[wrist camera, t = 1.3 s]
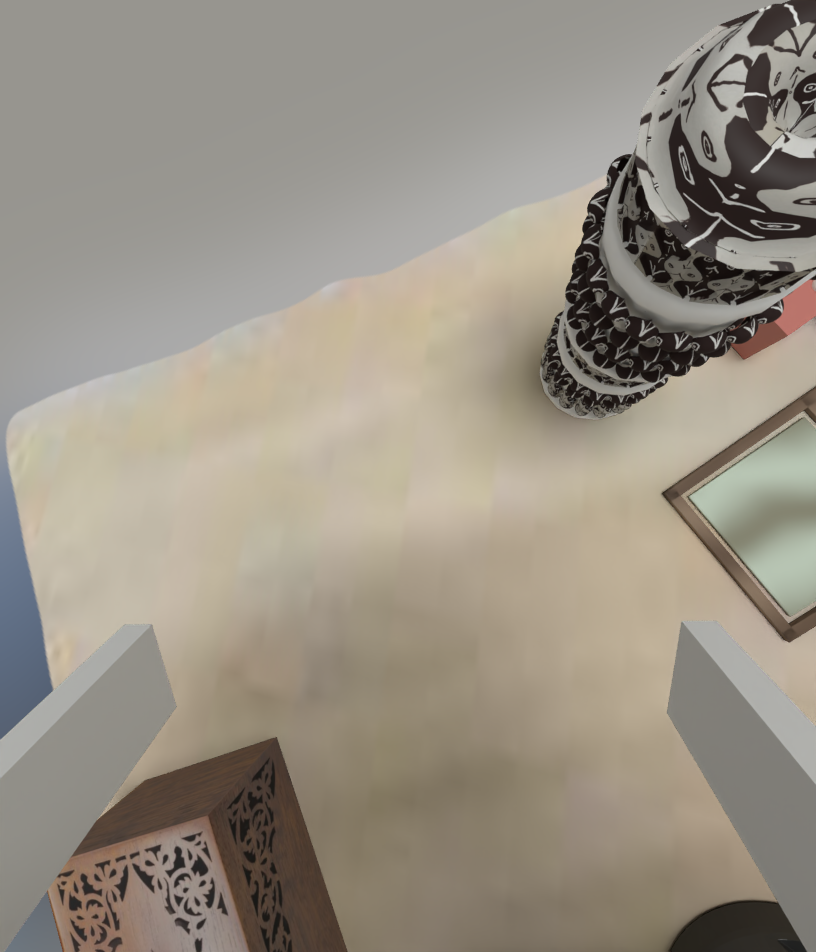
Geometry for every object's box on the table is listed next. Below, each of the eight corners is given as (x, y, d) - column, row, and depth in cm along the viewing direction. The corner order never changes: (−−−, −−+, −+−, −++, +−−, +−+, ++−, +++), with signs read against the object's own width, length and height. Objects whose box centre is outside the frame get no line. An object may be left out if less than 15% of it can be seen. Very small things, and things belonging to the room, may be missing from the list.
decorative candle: (587, 291, 36) (799, -149, 11) (679, 361, 34) (1152, 24, 10) (511, 375, 37) (558, 129, 12) (598, 447, 35) (851, 330, 11)
